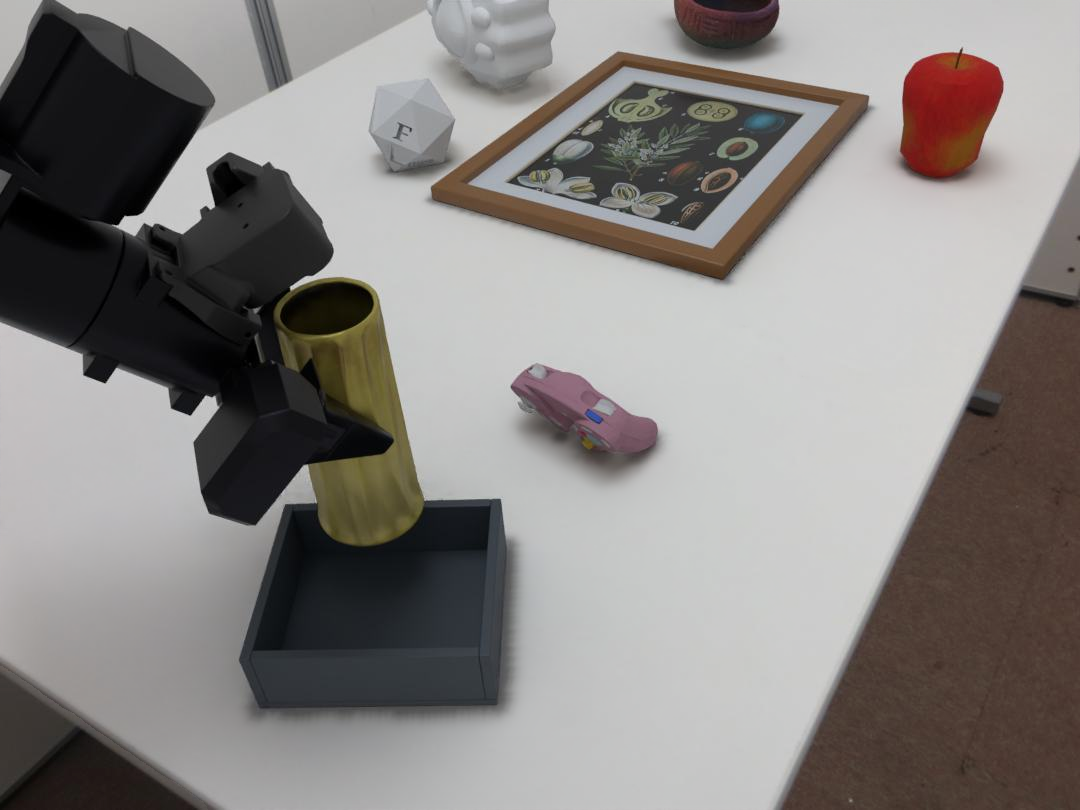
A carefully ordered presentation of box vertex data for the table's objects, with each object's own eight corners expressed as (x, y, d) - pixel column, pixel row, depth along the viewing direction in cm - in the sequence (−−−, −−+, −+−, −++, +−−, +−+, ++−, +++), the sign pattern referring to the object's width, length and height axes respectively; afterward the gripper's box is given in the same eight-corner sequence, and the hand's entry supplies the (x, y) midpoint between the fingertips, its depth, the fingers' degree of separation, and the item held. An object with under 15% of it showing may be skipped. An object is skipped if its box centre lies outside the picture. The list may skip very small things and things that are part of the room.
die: (357, 167, 104) (350, 119, 94) (392, 99, 106) (388, 45, 97) (431, 199, 104) (432, 154, 94) (464, 129, 106) (468, 79, 97)
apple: (996, 161, 96) (1028, 41, 88) (958, 195, 91) (989, 72, 84) (913, 138, 100) (937, 22, 93) (873, 170, 96) (895, 50, 88)
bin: (259, 708, 54) (238, 660, 51) (300, 552, 62) (284, 503, 59) (497, 704, 53) (490, 656, 50) (506, 547, 62) (501, 498, 59)
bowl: (787, 30, 125) (794, -36, 120) (762, 68, 116) (768, -1, 111) (666, 19, 130) (668, -45, 125) (634, 55, 122) (634, -12, 116)
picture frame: (429, 186, 95) (617, 50, 119) (431, 199, 96) (617, 62, 120) (723, 265, 82) (870, 94, 106) (722, 280, 83) (867, 107, 106)
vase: (396, 457, 60) (357, 258, 51) (443, 518, 56) (410, 313, 47) (303, 499, 58) (244, 298, 48) (346, 565, 54) (291, 360, 44)
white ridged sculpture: (493, 48, 126) (481, -87, 115) (572, 92, 114) (566, -54, 104) (417, 70, 122) (397, -68, 111) (491, 118, 110) (477, -31, 99)
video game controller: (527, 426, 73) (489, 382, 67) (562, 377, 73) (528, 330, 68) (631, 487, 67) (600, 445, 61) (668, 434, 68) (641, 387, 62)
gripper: (213, 249, 34) (530, 408, 44) (171, 63, 47) (420, 216, 57) (56, 475, 37) (384, 576, 47) (58, 240, 50) (312, 357, 60)
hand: (376, 412), depth 53 cm, fingers closed on vase, 5 cm apart
